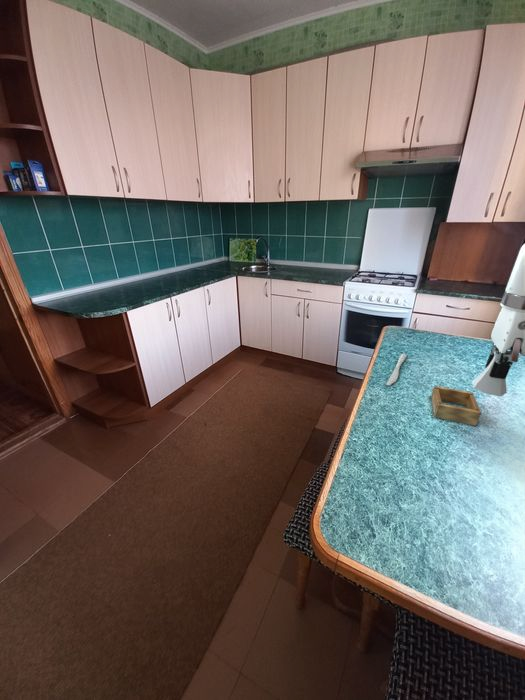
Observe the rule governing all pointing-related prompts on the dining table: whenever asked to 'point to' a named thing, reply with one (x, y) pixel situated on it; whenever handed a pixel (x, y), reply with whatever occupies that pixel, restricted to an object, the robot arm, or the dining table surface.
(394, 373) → the butter knife
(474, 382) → the flask
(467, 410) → the square wooden frame
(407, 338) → the dining table surface
